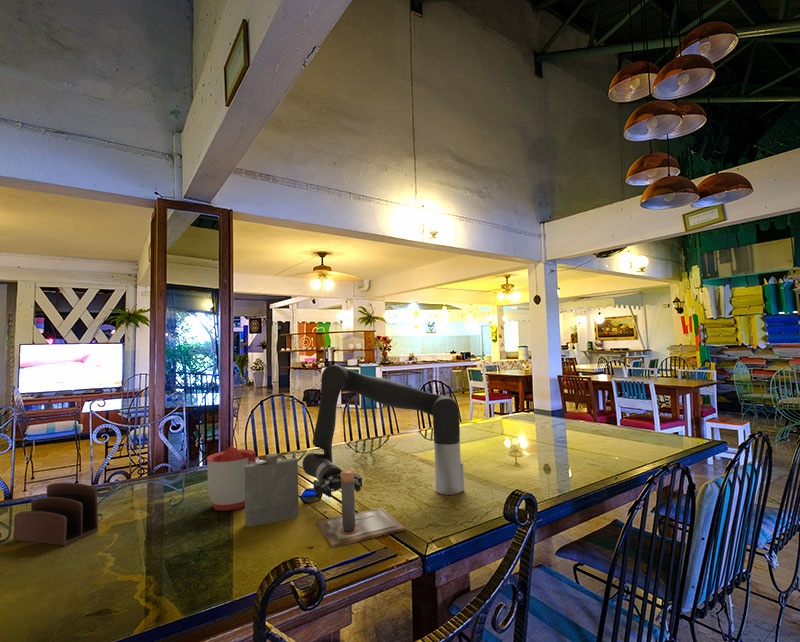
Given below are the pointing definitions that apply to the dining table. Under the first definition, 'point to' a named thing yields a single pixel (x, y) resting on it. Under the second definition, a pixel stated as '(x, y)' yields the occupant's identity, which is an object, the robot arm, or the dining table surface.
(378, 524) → the clipboard
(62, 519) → the letter holder
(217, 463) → the citrus juicer
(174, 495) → the dining table surface
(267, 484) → the hip flask
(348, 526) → the marker
